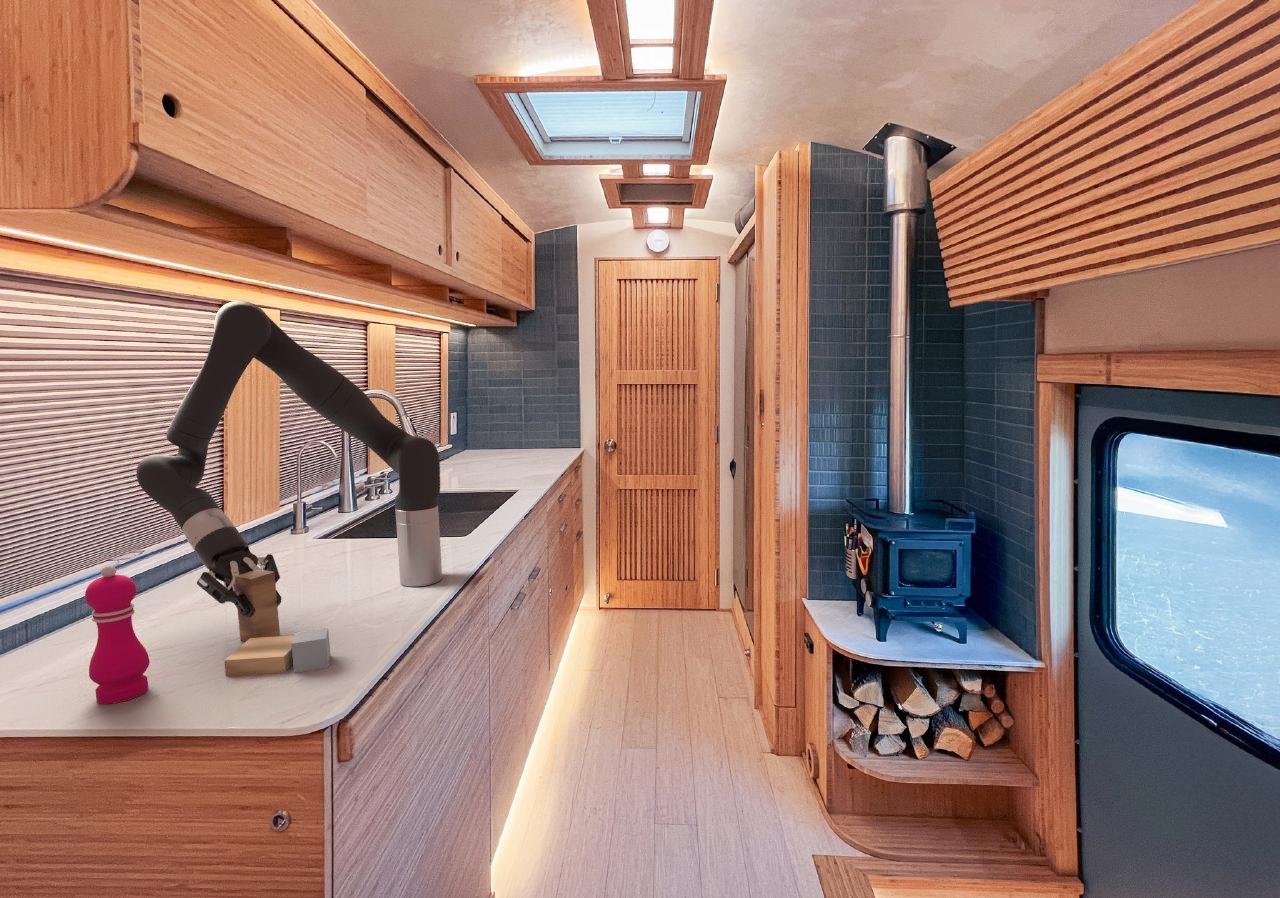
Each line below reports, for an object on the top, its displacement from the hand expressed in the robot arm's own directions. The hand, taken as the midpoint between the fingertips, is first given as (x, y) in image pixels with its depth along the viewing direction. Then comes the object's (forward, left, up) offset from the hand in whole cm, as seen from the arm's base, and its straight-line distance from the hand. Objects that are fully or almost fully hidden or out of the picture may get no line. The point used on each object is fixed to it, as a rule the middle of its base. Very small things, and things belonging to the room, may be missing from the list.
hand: (264, 609), depth 121 cm
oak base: (+10, +4, -6) cm, 13 cm away
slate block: (+12, +12, -6) cm, 18 cm away
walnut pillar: (-1, -2, -6) cm, 6 cm away
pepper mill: (+19, -13, -6) cm, 24 cm away
